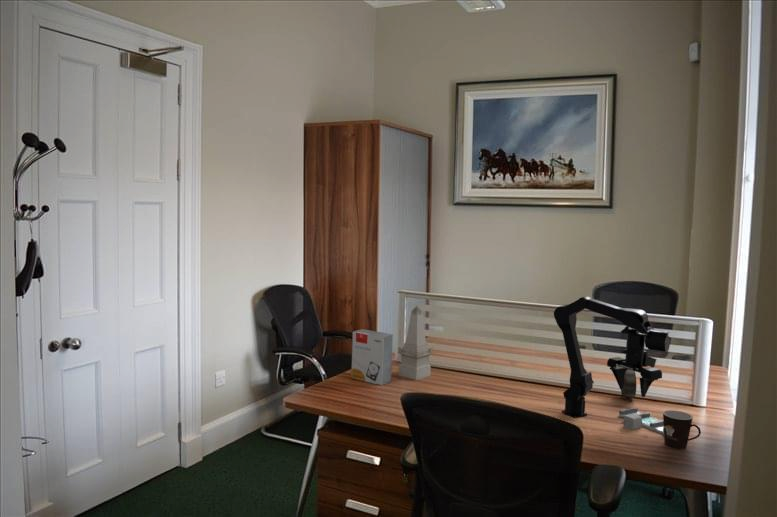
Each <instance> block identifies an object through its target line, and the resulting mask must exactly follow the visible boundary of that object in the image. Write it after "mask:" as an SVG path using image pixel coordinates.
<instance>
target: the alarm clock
mask: <svg viewBox="0 0 777 517" xmlns="http://www.w3.org/2000/svg"><path fill="white" fill-rule="evenodd" d="M636 376H637V374H636V371H633V370H630V369H627V371H626V372H625V378H624V387H623V389H620V394H621V396H619V398H622V397H625V398H629V400H630V401H629V402H630V403H632V402H633V401H632V400H633V398H635V397H636V395H637V377H636Z"/></svg>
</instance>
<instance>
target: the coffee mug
mask: <svg viewBox="0 0 777 517" xmlns="http://www.w3.org/2000/svg"><path fill="white" fill-rule="evenodd" d="M662 417H663V418H662V420H663V423H664V435H663V437H664V442H663V443H664V445H665V446H666V447H667V448H670V449H673V450H685V449H687V446H688V443H689V441H692V440H696V439H698V438H699V437H700V436H701V434H702V432H701V428H700V427H699V426H698V425H697V424H694V423H693V418H694V416H693V415H692V414H690V413H688V412H685V411H681V410H674V409H668V410H664V411H663V412H662ZM692 427H695V428H696V429H697V431H698V434H697V435H696V436H695V437H690V432H691V428H692Z"/></svg>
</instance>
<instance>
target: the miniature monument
mask: <svg viewBox="0 0 777 517" xmlns="http://www.w3.org/2000/svg"><path fill="white" fill-rule="evenodd" d="M407 327H408V328H407V333H406V338H405V339H406V340H405V342H404V343H403V345H402V347H399V346H398V347H397V350H398V351H397V353H398V354H399V355H401V360H400V364H399V365H398V376H400V377H405V378H407V379H411V380H415V381H418V380H421V379H424V378H427V377H429V376H431V372H432V371H431V369H432V367H431V366H432V365H431V364H430V355H432V354H434V347H429V346H428V343H427V339H426V332H425V324H424V316H423V310H422V309H420V307H419V306H415V307H414V308H413V309H412V310H411V311H410V317H409V323H408V326H407Z"/></svg>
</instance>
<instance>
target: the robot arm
mask: <svg viewBox="0 0 777 517" xmlns="http://www.w3.org/2000/svg"><path fill="white" fill-rule="evenodd" d="M583 310H587V311H590V312H594V313H596V314H600V315H603V316H606V317H609V318H612V319H614V320H617V321H618V322H619V323H620V324H623V325H624V326H625V327H624V328H623V329H622V330H621V331H620V333H621V334H626V344H625V349H623V350H622V353H624V354H625V358H623V357H620V356H615V357H609V358H608V360H607V362H606V366H607V367H609V370H611V372H612V375H613V376H614V378H615V381H616V383H617V385H618V387H619V390H621V389H623V387H624V378H625V372H626V371H627V369H630V370H633V371H635V373H639V374H640V377H639V388H640V395H641V398H644V397H646V394H647V393H648V391H649V389H650V387H651V385H652V383H654V382H655V381H658V380H659V379H662V378H663V371H662V370H661V369H660V368H656V367H655V366H656V362H657V358H654V357H652V356H649V355H648V351H653V352H654V351H655V352H660V353H665V354H667V353H668V352H669V349H670V347H671V346H670V345H671V340H670V336H669V331H666V330H665V331H661V330H655V328H654V327H653V325H652V323H650V320H649V317H648V314H647V312H646V311H645V310H643V309H638V308H627V307H626V308H625V307H620V306H618V305H617V306H616V305H614V304H610V303H607V302H604V301H602V300H599V299H596V298H595V299H594V298H593V297H592V298H591V297H590V296H587V295H585V296H581V297H579V298H578V299H577V300H575V301H573V302H571V303H569V304H564V305H561V306H558V307H556V308H555V309H554V311H553V317H554V319H555V320H554V321H555V322H556V325H557V326H558V328H559V329H560V330H561V332H562V336H563V342H564V346H565V351H566V355H567V358H568V362H569V368H570V375H569V387H568V389H566V390H564V392H563V393H562V394H563V398H564V399H565V400H564V401H565V403H564V409H563V410H561V413H563V414H566V415H567V416H569V417H571V418H579V417H584V416H587V415H588V413H587V412H585V410H586V396H587V394H588V393H589V392H590V391H591V390H592V389H593V384H594V383H595V382H594V379H593V376H592V371H589V372H587V370H586V368H585V365H584V362H583V357H582V353H581V348H580V344H579V339H578V335H577V332H576V331H577V330H576V327H577V320H578V318H577V314H578V313H581V312H582V311H583ZM645 348H646V349H647V350H648V351H647V350H645Z"/></svg>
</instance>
